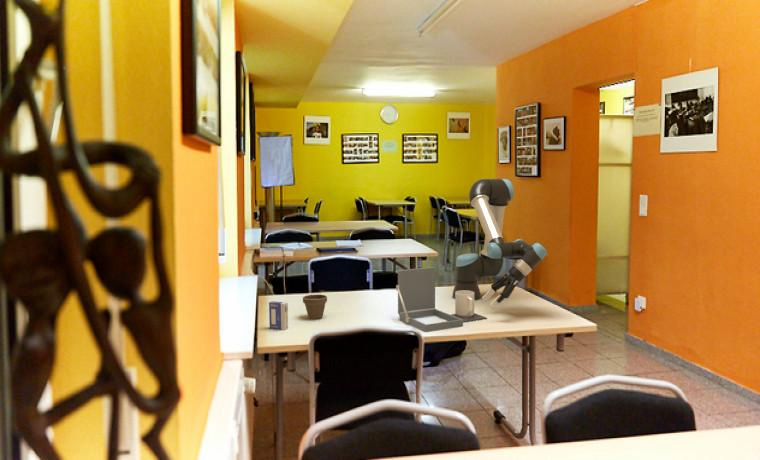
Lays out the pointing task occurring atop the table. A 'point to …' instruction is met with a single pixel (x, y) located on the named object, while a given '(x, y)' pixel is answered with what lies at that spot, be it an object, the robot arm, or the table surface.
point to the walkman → (278, 315)
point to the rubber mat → (471, 318)
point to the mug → (464, 303)
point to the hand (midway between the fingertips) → (487, 303)
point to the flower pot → (315, 305)
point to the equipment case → (421, 300)
